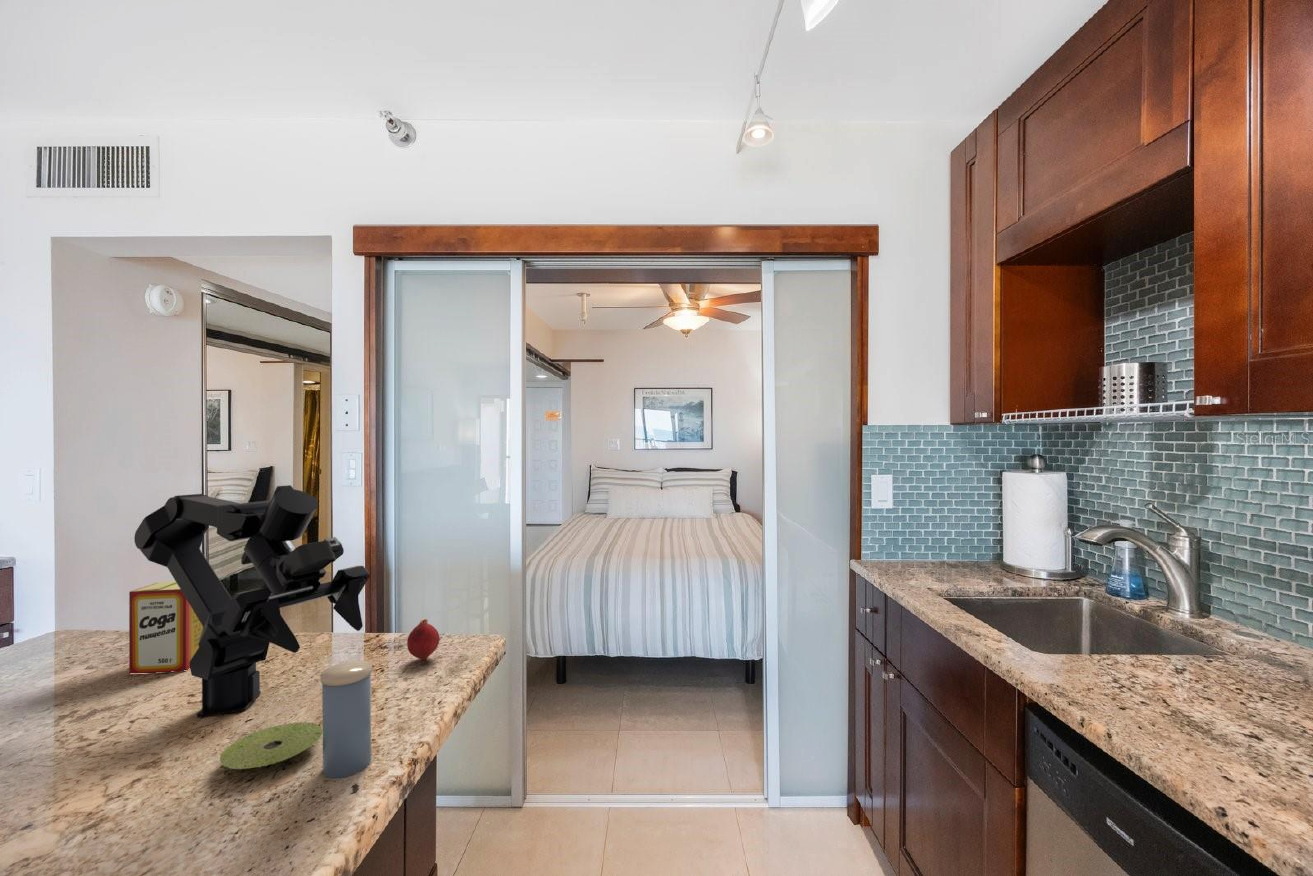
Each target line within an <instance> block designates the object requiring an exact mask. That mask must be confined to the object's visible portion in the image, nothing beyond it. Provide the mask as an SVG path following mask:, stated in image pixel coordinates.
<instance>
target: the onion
mask: <svg viewBox="0 0 1313 876" xmlns="http://www.w3.org/2000/svg"><path fill="white" fill-rule="evenodd" d="M440 640H441V639H440V634H439V631H438V630H437V628H436V627H434V626H433V625H432V624H430V623H429V622H428V619H427V618H422V619H421V620H420V621H419V623H418V624H417V625H416V626H415V627H414V628H413V629H412V631H410V632H409V634H408V637H407V641H406V645H407V646H406V647H407V651H408V652H409V654H410V655H411V656H413V657H415V658H416V659H419V660H421V661H425V659H426V660H427V659H428V658H429V657H430V656H431V655H433V653H434V652H435V651H436V650H437V648H438V646H439V644H440Z"/></svg>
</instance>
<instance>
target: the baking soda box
mask: <svg viewBox="0 0 1313 876" xmlns="http://www.w3.org/2000/svg"><path fill="white" fill-rule="evenodd" d="M128 595H129V598H128V599H129V602H128V605H129V612H128V613H129V614H128V617H129V618H128V621H129V622H128V623H129V625H128V626H129V627H128V628H129V629H128V630H129V631H128V632H129V633H128V634H129V636H128V640H129V642H128V643H129V644H128V645H129V646H128V647H129V650H128V653H129V656H128V659H129V661H128V662H129V664H128V665H129V667H128V668H129V673H128V674H130V673H156V672H170V673H172V672H171V671H183V670H188V669H189V668H190V664H189V663H190V660H191V659H192V657H193V656H194V654H195V653H196V651H197V650H198V648H199V645H198V643H199V640H200V636H201V633H202V630H203V626H202V624H201V622H200V621H199V619H198V617H197V616H196V614H195V612H194V611H193V609H192V607H191V606H190V604H189V602H188V601H187V599H186V597H185V596H184V594H183V592H182V591H181V589H180V587H179V586H178V584H177V583H176V581H175V580H171V581H164V582H163V581H162V582H161V581H160V582H155V583H152V584H148V585H146V586H143V587H139V588H137V589H134V590H131V591H129V594H128ZM189 670H190V669H189ZM189 670H188V671H189ZM156 674H157V673H156Z"/></svg>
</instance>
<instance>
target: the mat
mask: <svg viewBox="0 0 1313 876" xmlns="http://www.w3.org/2000/svg"><path fill="white" fill-rule="evenodd" d="M322 735H323V728H322V727H321V726H320V725H319V724H316V723H314V722H307V721H303V722H302V721H301V722H289V723H284V724H278V725H275V726H271V727H268V728H264V729H259V730H256V731H255V732H252V733H250V734H248V735H246V736H243V737H242V738H240V739H238V740H236V741H234V742H233V743H232V744H230V745H229V746H228V747H226V748H225V750H224V751H222V753H221V754H220V757H219V762H220V764H221V765H222V766H224V767H225V768H229V769H233V770H243V769H245V770H246V769H253V768H262V767H267V766H269V765H275V764H277V763H281V762H282V761H286V760H288V759H291V758H292V757H295V756H297V755H298V754H300V753H303V752H304V751H305V750H307V749H309V748H311V747H312V746H313V745H314V744H316V743H317V742H318V741H319V739H320V738H321V736H322Z"/></svg>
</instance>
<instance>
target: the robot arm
mask: <svg viewBox="0 0 1313 876" xmlns="http://www.w3.org/2000/svg"><path fill="white" fill-rule="evenodd" d="M318 506H319V503H318V500H317V498H316V497H315V496H313V495H311V494H309V493H307V492H305V491H302V490H299V489H294V487H293V485H291V484H290V485H277V486H276V488H275V490H274V492H273V495H272V498H271V500H263V501H254V502H253V501H252V502H250V501H249V502H244V503H243V502H242V503H241V502H236V501H232V500H231V501H230V500H227V499H221V498H216V497H212V496H209V495H207V494H203V493H195V494H181V495H180V494H179V495H178V494H177V495H175V496H172V497H168V499H167V500H166V502H165V503H164V505H163V506H161V507H160V508H158V509H156V510H154V511H153V512H151V513H150V514H148V515H146V516H145V517H144V518H143V519H142V521H141V523H140V524H139V525H138V527H137V529H136V530H135V533H134V537H133V538H134V540H133V541H134V544H135V547H136V548H137V549H138V550H140V552H141V553H142V555H143V556H144V557H145V558H146V559H147V561H149V562H152V563H155V564H157V565H160V566H162V567H165V568H167V569H168V571H169V573H170V575H171V576H172V578H173V579H174V581H176V583H177V584H178V586H179V587H180V589H181V591H182V592H183V594H184V596H185V597H186V599H187V601H188V602H189V604H190V606H191V607H192V609H193V611H194V612H195V614H196V616H197V617H198V619H199V621H200V622H201V624H202V626H203V630H202V633H201V636H200V640H199V643H198V645H199V648H198V650H197V651H196V653H195V654H194V656H193V657H192V659H191V660H190V663H189V664H190V669H189V670H190V674H191V676H193V677H196V678H199V679H201V709H200V710H199V711H198V712H197V713H196V715H195V716H196V717H197V718H200V717H209V716H214V715H215V716H216V715H224V714H230V713H231V714H232V713H236V712H237V713H238V712H244V711H245V710H247V709H248V707H250V705H251V704H253V703H254V702H255V700H256V699H257V698H259V696H260V695H261V694H262V693H261V690H260V689H261V686H260V685H261V681H260V670H257V663H260V662H263V661H266V660H267V655H268V650H269V647H270V644H272V645H275V646H278V647H280V648H282V649H284V650H286V651H288V652H291V653H294V654H296V653H298V652H299V650H300V648H301V646H300V644H299V642H298V639H297V638H296V636H295V633H293V631H292V629H290V626H289V625H288V624H287V622H286V621H285V619H284V617H283V616H282V613H281V608H285V607H288V606H291V607H293V606H296V605H301V604H304V603H308V602H311V601H312V602H313V601H317V600H318V599H323V598H326V597H327V599H328V601H330V603H331V604H334V605H333V607H332V608H333V610H334V611H335V613H337V614H338V615H339V616H340V617H341V618H342V619H343V620H344V621H345V622H346V623H347V624H348V625H349V626H350V627H351V628H352V629H354V630H356V631H357V632H359V631H360V630H362V628H363V626H364V625H363V619H362V613H361V608H360V602H359V601H360V599H359V595H360V593H361V592H362V590H363V589H364V587H365V585H366V584H367V581H369V578H370V577H371V573H369V571H368V570H367V569H366V567H365V566H364V565H356V566H350V567H345V568H343V569H338V570H337V572H336V573H335V575H334V577H333V578H332V580H331V581H327V582H324V583H321V581H320V579H322V578H324V577H325V575H326V574H327V571H326V569H325V568H326V567H327V566H328V565H330V564H331V563H334V562H336V561H337V559H339V558H340V557H341V556H344V555H343V554H344V552H345V551H344V547H343V544H342V543H341V541H340V540H339V539H338V538H337V537H336V536H333V537H329V538H328V537H327V538H324V539H323V540H320V541H314V542H308V543H304V544H301V545H299V546H296V545H295V543H294V540H298V539H300V538H301V537H302V536H303V534H304V533H305V531H306V529H307V528H308V525H309V523H310V522H311V520H312V518H313V516H314V514H315V512H316V511H317V508H318ZM210 527H214V528H216V534H217V535H219V537H221V538H223V539H225V540H227V541H228V542H236V541H242V540H247V542H246V543H245V545H244V547H243V551H244V552H243V554H242V556H241V558H240V559H241V564H242V565H248V564H252V565H253V567H254V568H255V570H256V572H257V573H258V574H259V577H260V578H261V579H260V581H259V582H258V586H259V587H258V588H254V589H250V590H246V591H241V592H236V593H235V594H234V595H233V596H232V597H231V595H230V593H229V592H228V591H227V589H226V588H225V586H224V584H223V583H222V581H221V579H220V578H219V577H218V575H217V574H216V572H215V571H214V569H213V568H212V566H211V564H210V563H209V561H208V559H207V558H206V557H205V555H204V553H203V552H202V550H201V546H202V544H203V540H204V537H205V534H206V532H207V531H208V529H209V528H210Z"/></svg>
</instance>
